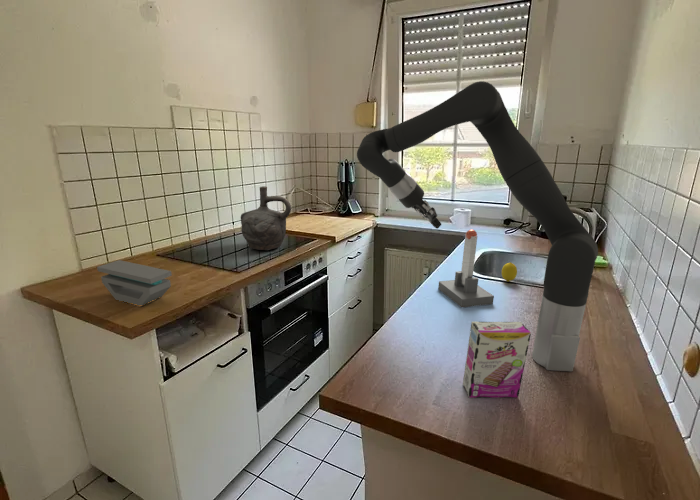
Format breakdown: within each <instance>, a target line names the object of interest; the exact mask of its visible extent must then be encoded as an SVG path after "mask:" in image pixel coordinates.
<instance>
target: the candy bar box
mask: <svg viewBox="0 0 700 500" xmlns="http://www.w3.org/2000/svg"><path fill="white" fill-rule="evenodd" d="M469 330H470V331H469V338H468V342H467V343H468V344H467V352H466V357H465V366H464V371H463V372H464V373H463V380H462V386H463V388H464V390H465V392H466V394H467V396H468V398H469V399H471V398H472V399H473V398H475V399H476V398H477V399H481V398H484V399H485V398H486V399H487V398H488V399H489V398H495V399H497V398H503V399H504V398H508V399H509V398H519V394H520V389H521V384H522V381H523V374H524V370H525V365H526V360H527V354H528V351H529V350H528V349H529V346H530V341H531V335H532V332H531V331H530V330H529V328H527V327H526V325H524V324H523V323H522V321H471V323H470V329H469Z"/></svg>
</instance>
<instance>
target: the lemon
mask: <svg viewBox="0 0 700 500" xmlns="http://www.w3.org/2000/svg"><path fill="white" fill-rule="evenodd" d="M517 274H518V269H517V266H516V265H515V264H514V263H513V262H510V261H509V262H508V263H505V264H503V266H502V269H501V277H502V278H503V279H504V280H505V281H506V282H510V281H513V280H515V279H516V277H517Z"/></svg>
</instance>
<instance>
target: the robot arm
mask: <svg viewBox="0 0 700 500" xmlns="http://www.w3.org/2000/svg"><path fill="white" fill-rule="evenodd" d="M465 123H471V124H472V125H473V126H474V127H475V128H476V130H478V132H479V133H480V134H481V136H482V138H483V139H484V140H485V141H486V143H487V144H488V146H489V148H490V150H491V153H492V156H493V159H494V160H495V164H496V166H497V169H498V171H499V174H501V175H500V176H501V177H502V180H503V181H504V183H505V184H506V186H507V187H508V189H509V191H510V192H511V194H512V195H513V197H514V198H515V199H516V200H517V201H518V202H519V204H520V205H522V207H523V208H524V209H525V210H527V212H528V213H529V214H530V215H532V216H533V217H534V219H535V220H536V221H537V222H538V223H539V224H540V226H541V227H542V229H543V230H544V232H545V235H546V236H547V238H548V240H549V242H550V244H551V246H550V248H549V251H548V255H547V260H546V265H545V266H546V267H545V271H544V279H543V291H542V297H541V303H540V307H539V308H540V309H539V313H538V320H537V325H536V330H535V335H534V340H533V347H532V352H531V358H532V359H533V360H534V362H536V363H537V364H538V365H540V366H542V367H544V369H545V370H546V371H556V372H557V371H559V372H560V371H561V372H573V370H574V366H575V363H576V357H577V353H578V348H579V344H580V339H581V338H580V333H581V328H582V323H583V319H584V316H585V315H584V314H585V311H586V307H587V306H586V305H587V303H588V298H589V292H590V285H591V281H592V277H593V272H594V267H595V264H596V260H597V258H598V255H599V248H598V244H597V241H596V240H595V239H594V237H593V236H592V235H591V234H590V233H589V231H588V230H587V229H586V228H585V227H584V226H583V224H582V223H581V221H580V220H579V219H578V218H577V216H576V215H575V214H574V212H573V211H572V210H571V208H570V207H569V205H568V203H567V202H566V200H565V198H564V196H563V194H562V192H561V190H560V188H559V186H558V184H557V183H556V181H555V179H554V178H553V175H552V174H551V172H550V170H549V169H548V168H547V166H546V164H545V162H544V161H543V160H542V158H541V157H540V155H539V154H538V152H536V149H534V147H533V145H531V144H530V142H529V141H528V140H527V139H526V138H525V136H524V135H523V134H522V132H520V130H518V128H517V127H516V125H515V123H514V121H513V119H512V118H511V116H510V114H509V112H508V110H507V107H506V105H505V103H504V101H503V98H502V96H501V94H500V92H499V91H498V89H497V87H495V86H494V85H493V84H492V83H490V82H487V81H484V80H483V81H482V80H481V81H476V82H473V83H471V84H469V85H467V86H466V87H464V88H462V89H461V90H460V91H458V92H457V93H456V94H454V95H452V96H451V97H449V98H448V99H446V100H444V101H443V102H441V103H439V104H437V105H435V106H434V107H432V108H430V109H429V110H425V111H424V112H423V113H421V114H418V115H416V116H413V117H412V118H409V119H407V120H405V121H402V122H399V123H398V124H396V125H394V126H391V127H389V128H382V129H379V130H375V131H373V132H370V133H368V134H366V135H365V136H364V137H363V138H362V140H361V141H360V144H359V146H358V148H357V150H356V158H357V160H358V162H359V164H360V165H361V166H362V167H363V168H364V169H366V170H367V171H368V172H370V173H371V174H373V175H374V176H376V177H378V178H379V179H380V180H381V181H382V182H383V183H384V185H385V186H387V188H388V189H389V190H390V192H391V193H392V194H393V195H394V197H395V198H396V199H397V200H398V201H399V202H400V203H401V204H402V206H404V207H405V208H406V209H412V210H414V211H415V212H416V213H417V214H419V215H420V216H421V217H422V218H423V219H425V220H426V221H428V222H429V223H430V224H431V225H432V226H433V228H435V229H439V228H440V227H441V226H442V222H441V221H440V220H439V219H438V218H437V217H438V213H437V211H436V209H435V207H431V206H430V204H429V202H428V201H427V200H425V199H424V196H425V191H424V189H423V188H422V187H421V186H420V185H419V183H418V182H417V181H416V180H415V179H414V178H413V177H412V176H411V174H409V173H408V172H407V171H406V170H405V169H404V168H403V167H402V165H401V164H400V163H399V162H398V161H397V160H396V159H394V158H389V159H387V158H386V157H385V156H384V155H383V153H385V152H388V151H391V152H392V153H399V152H402V151H405V150H408V149H410V148H413V147H415V146H417V145H419V144H422V143H423V142H425V141H427V140H429V139H430V138H432V137H433V136H435V135H436V134H438V133H439V132H441V131H443V130H445V129H449V128H451V127H454V126H457V125H461V124H465Z"/></svg>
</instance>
